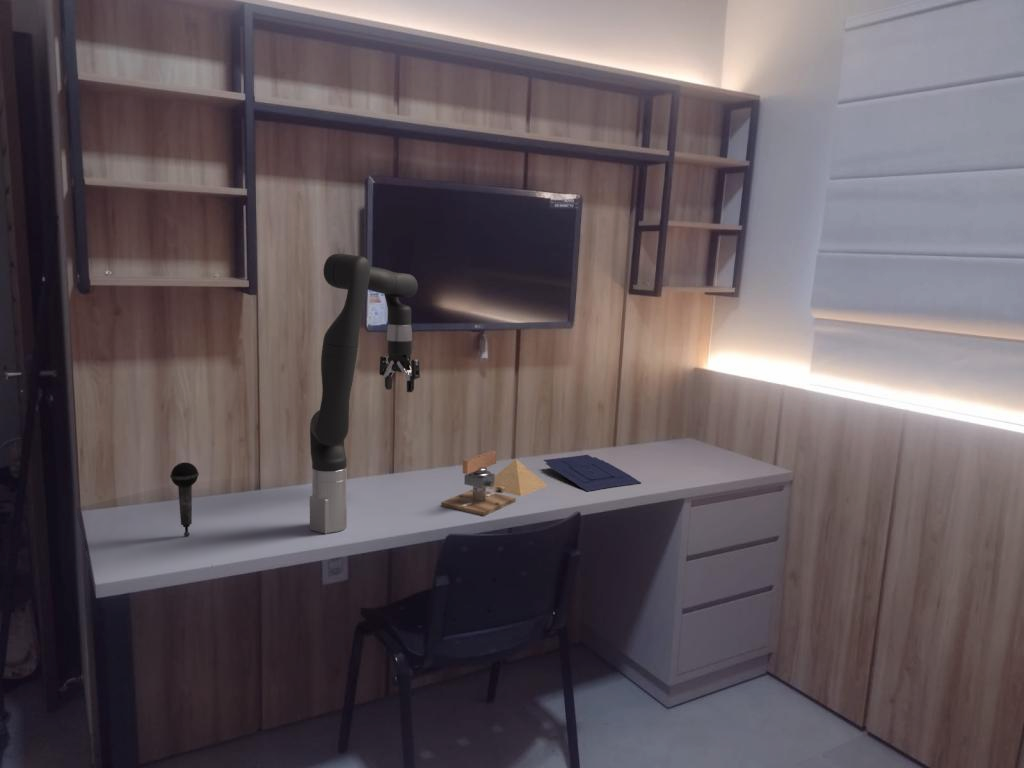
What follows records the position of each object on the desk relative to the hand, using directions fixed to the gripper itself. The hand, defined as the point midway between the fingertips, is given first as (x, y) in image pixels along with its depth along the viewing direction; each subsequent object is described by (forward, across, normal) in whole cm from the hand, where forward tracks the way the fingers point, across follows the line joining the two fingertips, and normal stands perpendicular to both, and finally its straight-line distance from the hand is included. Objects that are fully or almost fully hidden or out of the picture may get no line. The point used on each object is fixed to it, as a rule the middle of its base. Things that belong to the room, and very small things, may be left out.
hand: (399, 390), depth 232 cm
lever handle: (+28, -25, -9) cm, 38 cm away
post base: (+34, -25, -9) cm, 43 cm away
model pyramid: (+35, -24, -32) cm, 53 cm away
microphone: (+34, +21, +61) cm, 73 cm away
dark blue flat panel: (+35, -39, -59) cm, 79 cm away
